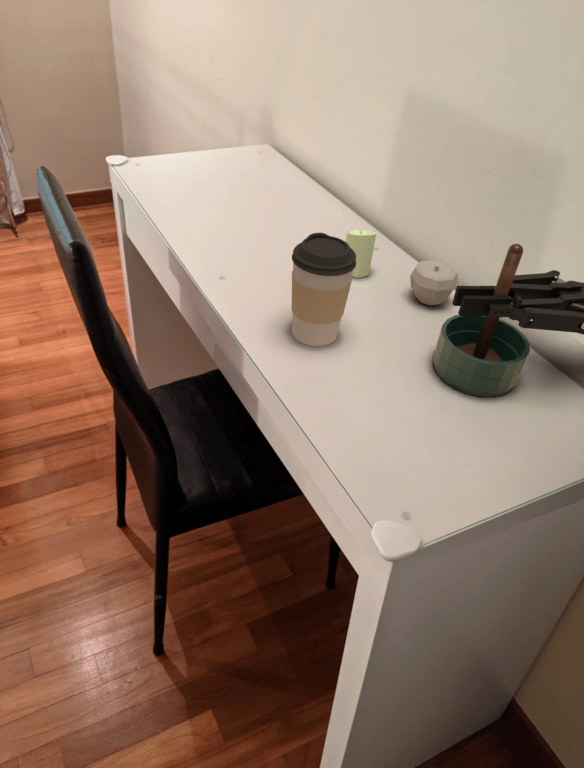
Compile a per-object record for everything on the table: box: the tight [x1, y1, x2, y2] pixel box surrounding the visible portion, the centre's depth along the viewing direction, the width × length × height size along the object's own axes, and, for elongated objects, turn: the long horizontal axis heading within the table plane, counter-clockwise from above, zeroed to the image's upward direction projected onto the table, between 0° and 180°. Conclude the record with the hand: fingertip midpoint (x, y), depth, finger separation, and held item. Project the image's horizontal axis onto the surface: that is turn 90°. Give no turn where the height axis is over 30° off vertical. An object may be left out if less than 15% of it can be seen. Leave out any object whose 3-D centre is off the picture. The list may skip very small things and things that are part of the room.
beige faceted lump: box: [409, 259, 459, 306], centre depth 102 cm, size 8×8×7 cm
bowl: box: [432, 314, 531, 398], centre depth 87 cm, size 12×12×6 cm
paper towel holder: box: [460, 243, 524, 362], centre depth 82 cm, size 6×6×19 cm
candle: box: [345, 229, 377, 279], centre depth 107 cm, size 5×5×8 cm
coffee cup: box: [291, 232, 356, 347], centre depth 88 cm, size 9×9×15 cm
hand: (458, 300), depth 81 cm, fingers closed on paper towel holder, 2 cm apart
